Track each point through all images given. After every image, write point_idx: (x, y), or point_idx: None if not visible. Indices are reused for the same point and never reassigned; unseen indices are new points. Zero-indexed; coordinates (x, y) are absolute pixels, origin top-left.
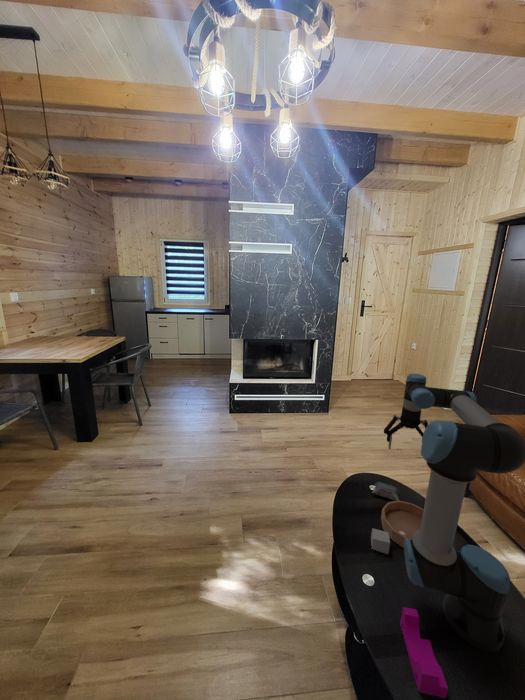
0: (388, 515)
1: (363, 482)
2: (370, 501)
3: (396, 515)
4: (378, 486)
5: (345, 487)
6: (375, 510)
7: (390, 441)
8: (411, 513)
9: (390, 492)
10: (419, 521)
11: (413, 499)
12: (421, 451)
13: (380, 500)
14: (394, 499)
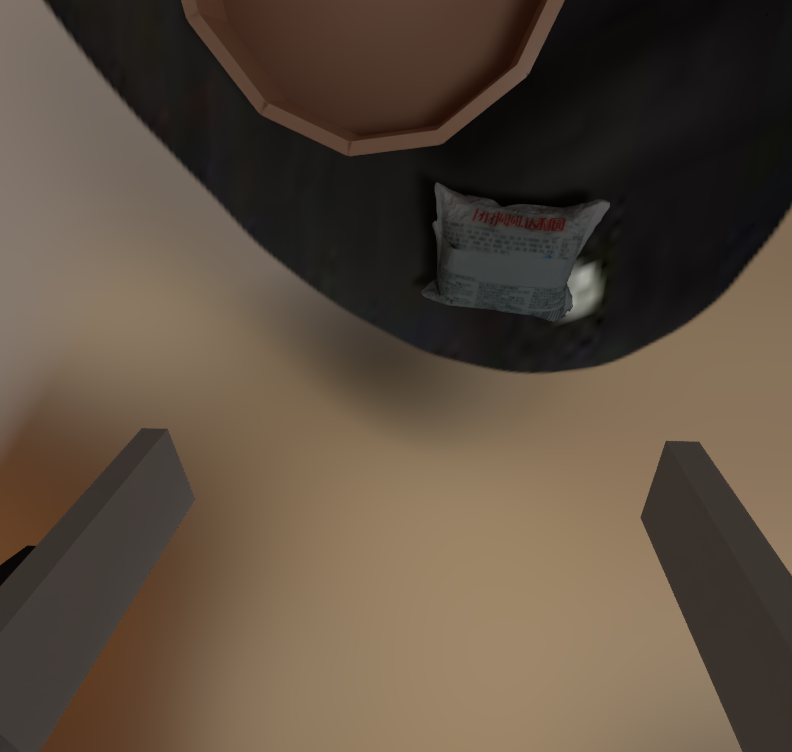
0: (514, 10)
1: (630, 317)
2: (616, 140)
3: (456, 44)
4: (568, 254)
5: (780, 216)
6: (596, 50)
7: (785, 596)
8: (359, 121)
9: (489, 223)
10: (312, 58)
11: (347, 280)
12: (160, 505)
13: (543, 183)
14: (460, 194)
